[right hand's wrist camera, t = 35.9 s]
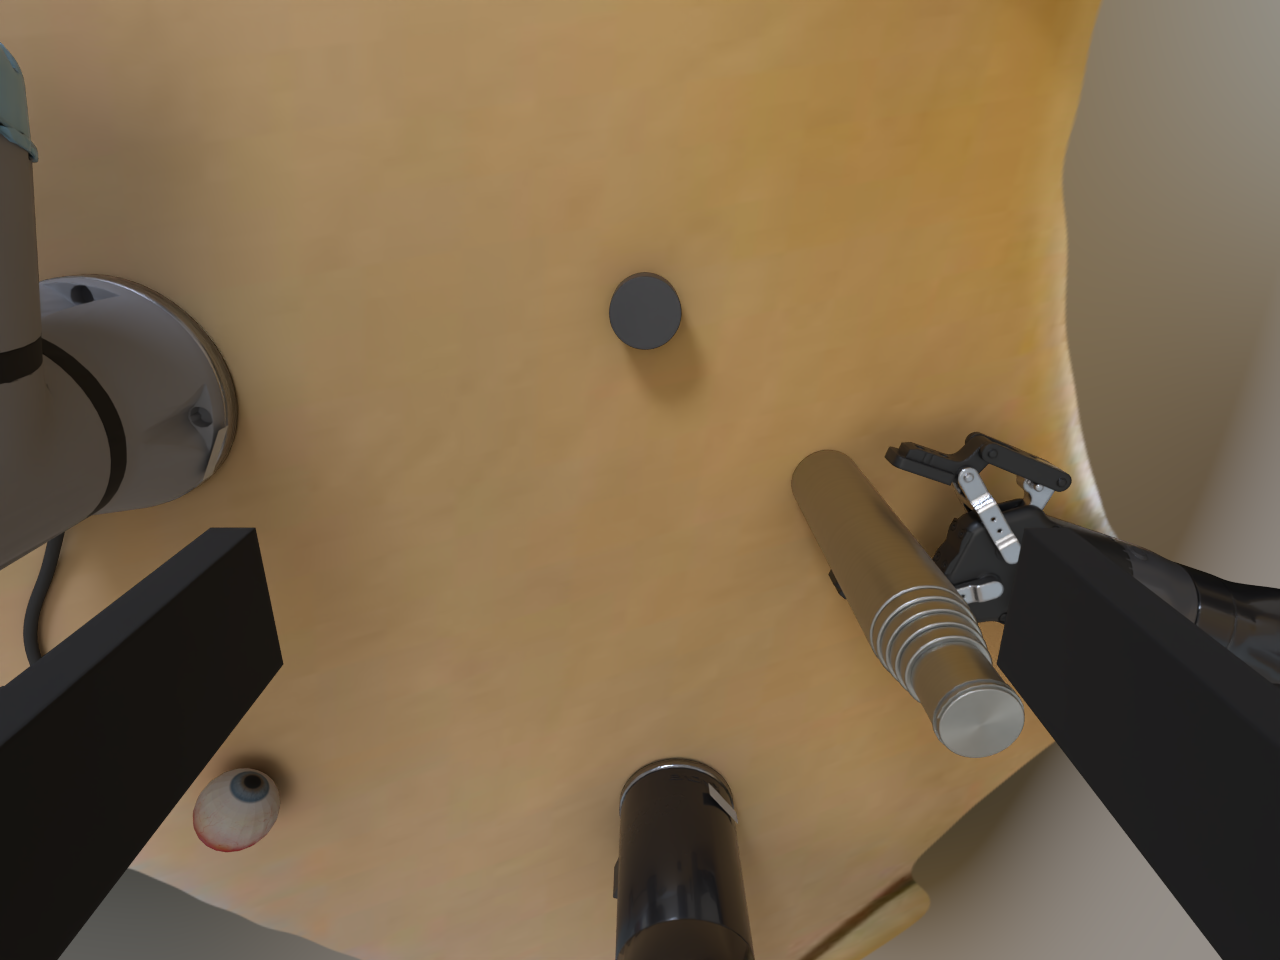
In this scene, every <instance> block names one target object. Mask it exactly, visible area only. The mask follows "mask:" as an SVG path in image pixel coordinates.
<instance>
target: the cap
mask: <svg viewBox="0 0 1280 960" xmlns="http://www.w3.org/2000/svg"><path fill="white" fill-rule="evenodd" d="M609 318H610V323H611V326H612V328H613V330H614V332H615V334H616V335H617V336H618V337H619V339H620V340H622V341H623V342H624V343H625V344H627V345H629V346H631V347H633V348H637V349H644V350H646V349H654V348H657V347H659V346H662V345H663V344H665V343H666V342H668V341H669V340H670V339H671V338H672V337H673V336H674V334H675V333H676V331H677V329H678V327H679V324H680V321H681V305H680V301H679V298H678V296H677V293H676V291H675V289H674V288H673V286H672V285H671V284H670V283H669V282H668V281H667V280H666V279H664V278H663V277H661V276H659V275H657V274H654V273H647V272H643V273H637V274H634V275H631V276H629V277H627V278H626V279H624V280H623V281H622V282H621V283H620V284H619V285H618V287H617V288H616V290H615V292H614V294H613V297H612V300H611V303H610V309H609Z"/></svg>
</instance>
